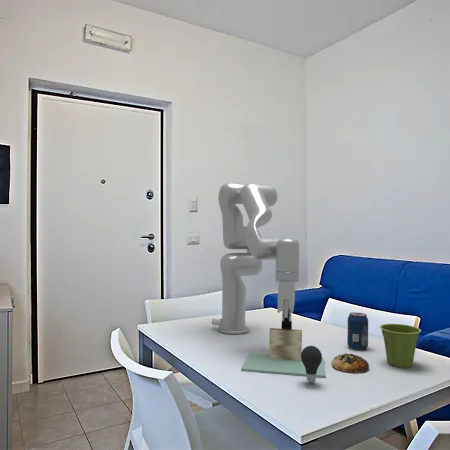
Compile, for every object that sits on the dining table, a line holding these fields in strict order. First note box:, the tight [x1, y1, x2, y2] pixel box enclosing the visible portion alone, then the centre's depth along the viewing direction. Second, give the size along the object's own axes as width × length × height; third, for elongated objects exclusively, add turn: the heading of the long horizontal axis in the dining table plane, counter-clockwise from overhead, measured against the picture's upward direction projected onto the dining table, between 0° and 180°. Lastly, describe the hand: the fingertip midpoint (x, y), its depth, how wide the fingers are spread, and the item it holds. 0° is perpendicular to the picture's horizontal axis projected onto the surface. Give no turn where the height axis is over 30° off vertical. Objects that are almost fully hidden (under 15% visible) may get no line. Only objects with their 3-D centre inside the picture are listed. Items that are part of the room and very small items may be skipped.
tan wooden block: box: [268, 327, 303, 361], centre depth 130 cm, size 10×2×9 cm, turn 78°
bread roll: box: [331, 353, 370, 374], centre depth 125 cm, size 11×11×5 cm
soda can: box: [347, 312, 369, 351], centre depth 145 cm, size 7×7×12 cm
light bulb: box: [301, 345, 323, 385], centre depth 111 cm, size 6×6×10 cm
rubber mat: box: [240, 352, 327, 379], centre depth 125 cm, size 24×16×1 cm, turn 78°
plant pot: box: [379, 323, 422, 368], centre depth 128 cm, size 12×12×11 cm
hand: (286, 333), depth 133 cm, fingers closed
